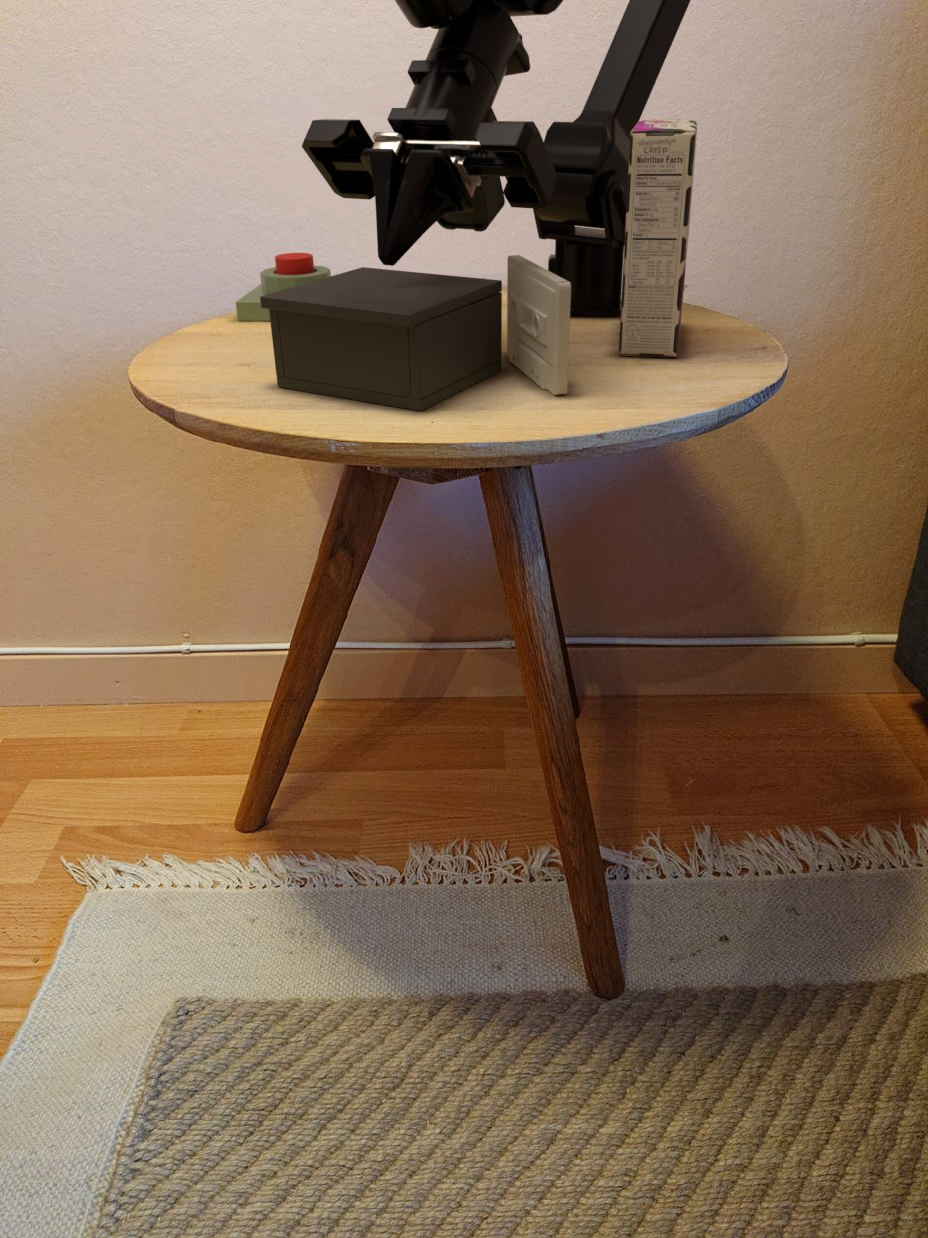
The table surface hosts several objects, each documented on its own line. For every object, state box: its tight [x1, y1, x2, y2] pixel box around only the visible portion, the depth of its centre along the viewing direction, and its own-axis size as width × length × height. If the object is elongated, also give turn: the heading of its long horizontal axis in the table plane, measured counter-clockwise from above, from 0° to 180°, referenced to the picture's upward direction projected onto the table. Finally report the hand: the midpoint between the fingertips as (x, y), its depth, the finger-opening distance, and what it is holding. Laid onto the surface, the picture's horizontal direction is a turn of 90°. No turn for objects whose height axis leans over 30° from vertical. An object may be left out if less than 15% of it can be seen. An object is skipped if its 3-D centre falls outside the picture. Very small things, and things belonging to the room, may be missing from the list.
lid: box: [260, 266, 503, 327], centre depth 69 cm, size 12×13×1 cm
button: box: [274, 252, 315, 275], centre depth 93 cm, size 4×4×2 cm
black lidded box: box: [269, 291, 503, 412], centre depth 71 cm, size 12×13×6 cm
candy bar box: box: [618, 118, 698, 358], centre depth 77 cm, size 11×5×16 cm, turn 168°
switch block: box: [235, 264, 332, 322], centre depth 94 cm, size 11×9×4 cm
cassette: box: [506, 254, 571, 396], centre depth 71 cm, size 12×2×8 cm, turn 15°
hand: (385, 261), depth 69 cm, fingers closed
